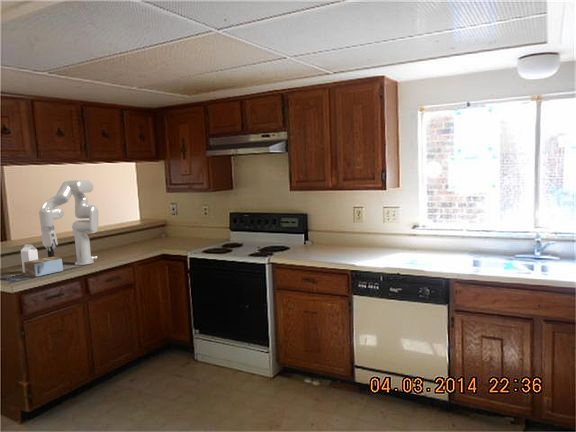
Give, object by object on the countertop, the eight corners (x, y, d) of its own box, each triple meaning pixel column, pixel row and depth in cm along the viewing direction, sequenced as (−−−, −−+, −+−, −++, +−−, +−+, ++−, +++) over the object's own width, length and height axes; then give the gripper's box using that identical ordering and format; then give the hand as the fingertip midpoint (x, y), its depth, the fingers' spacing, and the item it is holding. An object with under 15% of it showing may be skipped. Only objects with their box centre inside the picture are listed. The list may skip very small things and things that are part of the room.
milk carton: (30, 273, 298) (27, 245, 296) (22, 272, 301) (19, 245, 299) (39, 271, 305) (36, 243, 303) (32, 270, 307) (29, 243, 306)
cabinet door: (62, 270, 300) (60, 258, 299) (63, 270, 299) (62, 259, 298) (35, 276, 285) (34, 264, 284) (37, 276, 284) (35, 264, 283)
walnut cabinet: (52, 269, 307) (50, 256, 306) (62, 271, 300) (60, 258, 300) (25, 275, 292) (23, 262, 291) (35, 277, 285) (33, 263, 284)
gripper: (60, 228, 284) (63, 256, 286) (47, 227, 292) (50, 254, 294) (48, 230, 277) (52, 258, 280) (35, 229, 285) (39, 257, 288)
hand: (51, 256), depth 287 cm, fingers closed
